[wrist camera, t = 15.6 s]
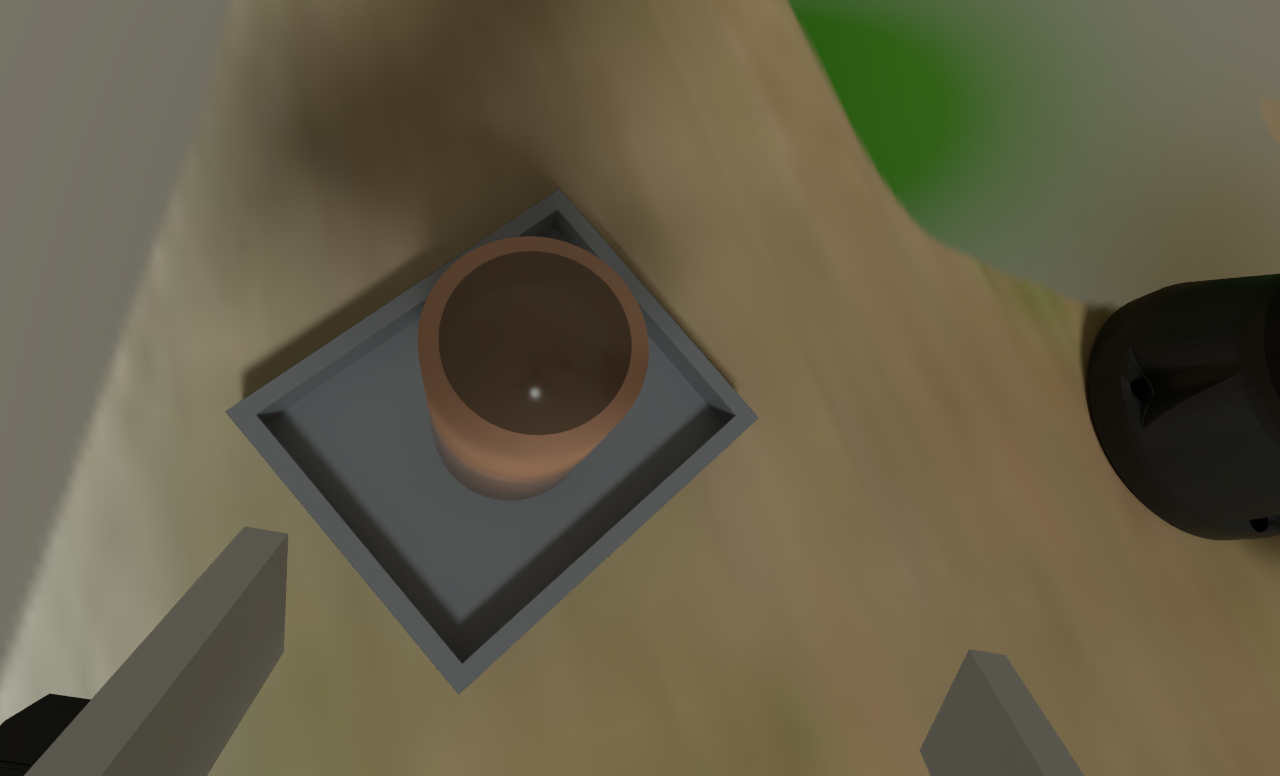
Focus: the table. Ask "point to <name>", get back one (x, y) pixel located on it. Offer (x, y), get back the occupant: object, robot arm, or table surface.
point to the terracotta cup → (527, 362)
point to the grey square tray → (450, 512)
